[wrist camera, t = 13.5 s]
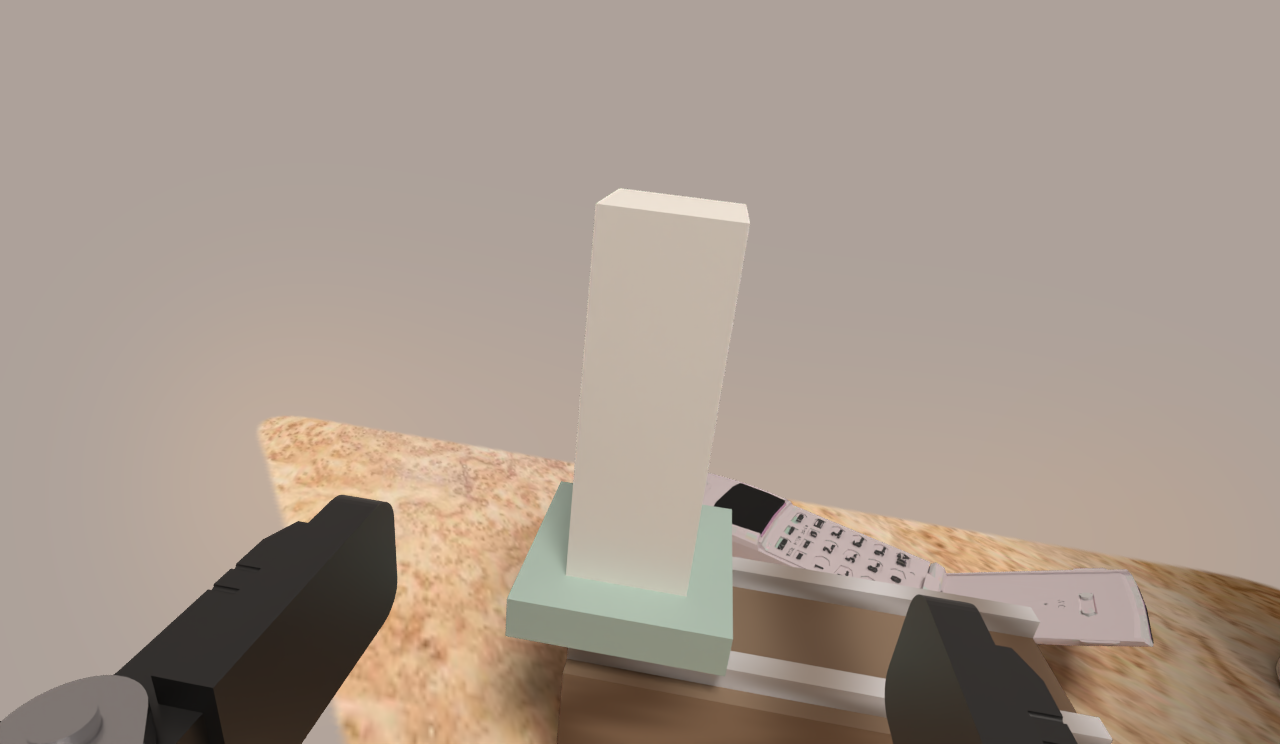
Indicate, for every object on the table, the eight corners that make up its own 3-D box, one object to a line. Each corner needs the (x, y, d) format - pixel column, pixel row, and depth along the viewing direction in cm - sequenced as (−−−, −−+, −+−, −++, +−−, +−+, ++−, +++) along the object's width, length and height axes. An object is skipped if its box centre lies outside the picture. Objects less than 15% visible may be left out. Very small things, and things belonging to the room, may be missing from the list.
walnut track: (972, 719, 28) (1024, 596, 26) (1045, 898, 22) (1123, 757, 19) (590, 649, 30) (603, 525, 27) (552, 798, 23) (564, 653, 21)
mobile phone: (1162, 651, 25) (623, 441, 36) (1105, 757, 28) (612, 530, 38) (1141, 571, 30) (672, 408, 41) (1093, 667, 32) (660, 488, 43)
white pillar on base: (726, 540, 26) (790, 204, 21) (725, 676, 20) (817, 241, 15) (559, 512, 27) (583, 178, 22) (505, 635, 21) (522, 203, 15)
